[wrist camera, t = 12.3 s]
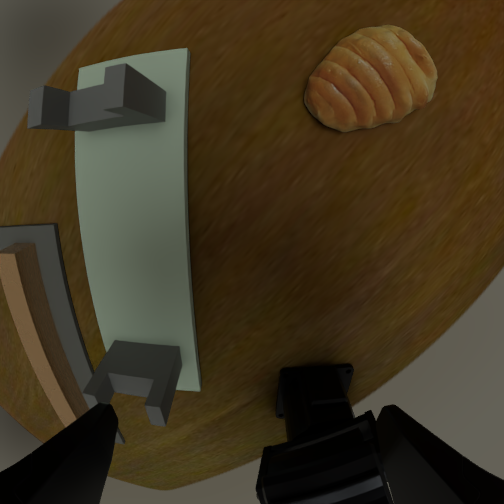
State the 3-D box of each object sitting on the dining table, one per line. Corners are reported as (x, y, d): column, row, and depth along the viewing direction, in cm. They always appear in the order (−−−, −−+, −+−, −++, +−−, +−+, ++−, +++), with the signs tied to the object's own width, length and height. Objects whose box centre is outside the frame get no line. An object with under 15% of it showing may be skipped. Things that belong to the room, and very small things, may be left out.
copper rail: (102, 433, 26) (95, 449, 24) (83, 428, 26) (76, 443, 24) (34, 242, 19) (14, 253, 16) (14, 243, 19) (-6, 253, 16)
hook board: (201, 383, 24) (190, 451, 17) (119, 374, 24) (91, 432, 16) (190, 53, 15) (159, 2, 8) (86, 71, 15) (23, 46, 8)
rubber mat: (125, 441, 27) (124, 444, 27) (73, 427, 27) (72, 430, 27) (57, 223, 19) (53, 225, 18) (-1, 226, 19) (-4, 228, 18)
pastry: (338, 158, 18) (358, 159, 14) (278, 76, 16) (284, 58, 13) (429, 98, 16) (458, 91, 13) (378, 24, 15) (399, 5, 11)
